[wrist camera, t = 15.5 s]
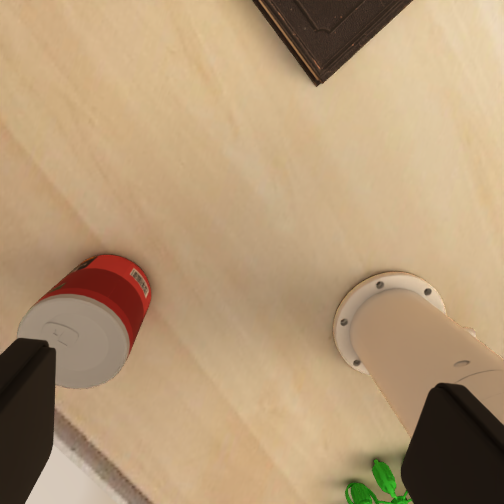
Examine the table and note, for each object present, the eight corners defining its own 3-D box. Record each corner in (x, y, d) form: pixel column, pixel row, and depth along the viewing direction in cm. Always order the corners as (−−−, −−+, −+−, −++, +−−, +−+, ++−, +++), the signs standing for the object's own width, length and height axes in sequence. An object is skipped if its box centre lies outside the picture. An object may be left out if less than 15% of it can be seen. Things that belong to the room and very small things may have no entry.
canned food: (84, 240, 36) (29, 282, 25) (163, 268, 37) (142, 318, 27) (63, 307, 38) (3, 372, 27) (139, 331, 39) (110, 402, 29)
